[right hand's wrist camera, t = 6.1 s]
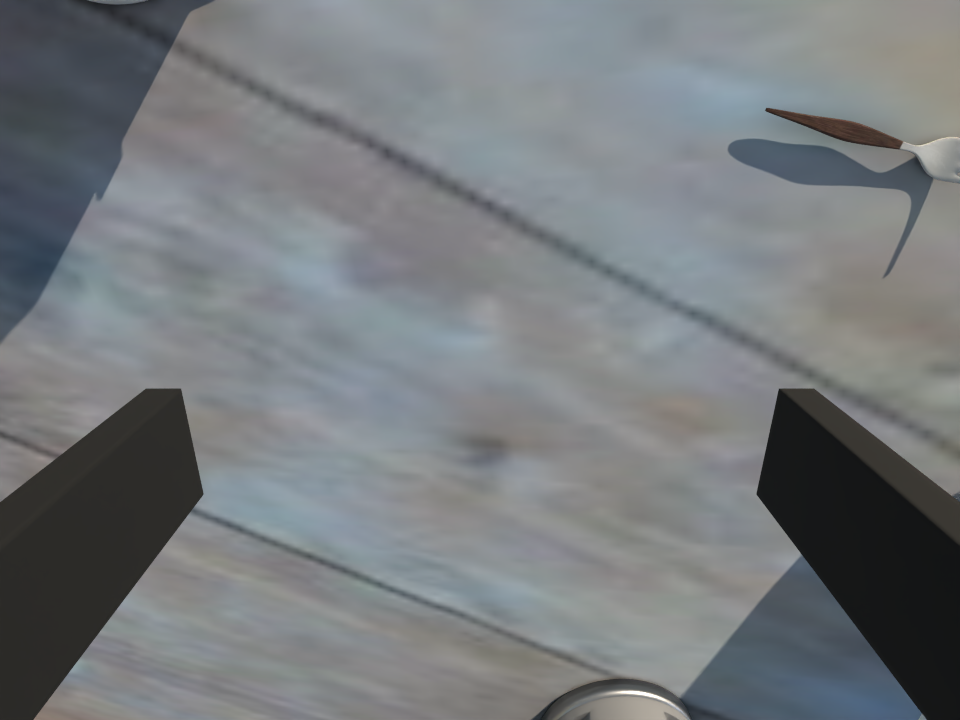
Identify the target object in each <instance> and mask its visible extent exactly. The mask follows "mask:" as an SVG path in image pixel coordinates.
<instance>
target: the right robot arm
mask: <svg viewBox="0 0 960 720" xmlns="http://www.w3.org/2000/svg"><path fill="white" fill-rule="evenodd" d="M202 496H203V490H202V485H201V480H200V475H199V471H198V466H197V461H196V457H195V452H194V447H193V443H192V438H191V433H190V429H189V424H188V419H187V415H186V410H185V405H184V401H183V396H182V391H181V389H145V390H144V391H142V392H141V393H140V394H139V395H137V396H136V397H135V398H133V399H132V400H131V401H130V402H128V403H127V404H126V405H125V406H123V407H122V408H121V409H119V410H118V411H117V412H116V413H114V414H113V415H112V416H110V417H109V418H108V419H107V420H105V421H104V422H103V423H101V424H100V425H99V426H98V427H96V428H95V429H94V430H92V431H91V432H90V433H89V434H87V435H86V436H85V437H83V438H82V439H81V440H80V441H78V442H77V443H76V444H74V445H73V446H72V447H71V448H69V449H68V450H67V451H66V452H64V453H63V454H62V455H60V456H59V457H58V458H57V459H55V460H54V461H53V462H51V463H50V464H49V465H48V466H46V467H45V468H44V469H42V470H41V471H40V472H39V473H37V474H36V475H35V476H33V477H32V478H31V479H30V480H28V481H27V482H26V483H24V484H23V485H22V486H21V487H19V488H18V489H17V490H15V491H14V492H13V493H12V494H10V495H9V496H8V497H7V498H5V499H4V500H3V501H1V502H0V720H33V719H34V718H35V717H36V715H37V714H38V713H39V711H40V710H41V709H42V707H43V706H44V705H45V703H46V702H47V701H48V699H49V698H50V697H51V695H52V694H53V693H54V692H55V690H56V689H57V688H58V686H59V685H60V684H61V682H62V681H63V680H64V678H65V677H66V676H67V674H68V673H69V672H70V670H71V669H72V668H73V666H74V665H75V664H76V662H77V661H78V660H79V658H80V657H81V656H82V654H83V653H84V652H85V650H86V649H87V648H88V647H89V645H90V644H91V643H92V641H93V640H94V639H95V637H96V636H97V635H98V633H99V632H100V631H101V629H102V628H103V627H104V625H105V624H106V623H107V621H108V620H109V619H110V617H111V616H112V615H113V613H114V612H115V611H116V609H117V608H118V607H119V605H120V604H121V603H122V602H123V600H124V599H125V598H126V596H127V595H128V594H129V592H130V591H131V590H132V588H133V587H134V586H135V584H136V583H137V582H138V580H139V579H140V578H141V576H142V575H143V574H144V572H145V571H146V570H147V568H148V567H149V566H150V564H151V563H152V562H153V560H154V559H155V558H156V557H157V555H158V554H159V553H160V551H161V550H162V549H163V547H164V546H165V545H166V543H167V542H168V541H169V539H170V538H171V537H172V535H173V534H174V533H175V531H176V530H177V529H178V527H179V526H180V525H181V523H182V522H183V521H184V519H185V518H186V517H187V515H188V514H189V513H190V512H191V510H192V509H193V508H194V506H195V505H196V504H197V502H198V501H199V500H200V498H201V497H202ZM757 496H758V497H759V498H760V500H761V501H762V502H763V504H764V505H765V506H766V508H767V509H768V510H769V512H770V513H771V514H772V515H773V517H774V518H775V519H776V521H777V522H778V523H779V525H780V526H781V527H782V529H783V530H784V531H785V533H786V534H787V535H788V537H789V538H790V539H791V541H792V542H793V543H794V545H795V546H796V547H797V549H798V550H799V551H800V553H801V554H802V555H803V557H804V558H805V559H806V560H807V562H808V563H809V564H810V566H811V567H812V568H813V570H814V571H815V572H816V574H817V575H818V576H819V578H820V579H821V580H822V582H823V583H824V584H825V586H826V587H827V588H828V590H829V591H830V592H831V594H832V595H833V596H834V598H835V599H836V600H837V602H838V603H839V604H840V605H841V607H842V608H843V609H844V611H845V612H846V613H847V615H848V616H849V617H850V619H851V620H852V621H853V623H854V624H855V625H856V627H857V628H858V629H859V631H860V632H861V633H862V635H863V636H864V637H865V639H866V640H867V641H868V643H869V644H870V645H871V647H872V648H873V649H874V650H875V652H876V653H877V654H878V656H879V657H880V658H881V660H882V661H883V662H884V664H885V665H886V666H887V668H888V669H889V670H890V672H891V673H892V674H893V676H894V677H895V678H896V680H897V681H898V682H899V684H900V685H901V686H902V688H903V689H904V690H905V692H906V693H907V694H908V695H909V697H910V698H911V699H912V701H913V702H914V703H915V705H916V706H917V707H918V709H919V710H920V711H921V713H922V714H923V715H924V717H925V718H926V719H927V720H960V502H959V501H957V500H956V499H955V498H953V497H952V496H951V495H950V494H948V493H947V492H946V491H945V490H943V489H942V488H941V487H939V486H938V485H937V484H936V483H934V482H933V481H932V480H930V479H929V478H928V477H927V476H925V475H924V474H923V473H921V472H920V471H919V470H918V469H916V468H915V467H914V466H912V465H911V464H910V463H909V462H907V461H906V460H905V459H903V458H902V457H901V456H900V455H898V454H897V453H896V452H894V451H893V450H892V449H891V448H889V447H888V446H887V445H886V444H884V443H883V442H882V441H880V440H879V439H878V438H877V437H875V436H874V435H873V434H871V433H870V432H869V431H868V430H866V429H865V428H864V427H862V426H861V425H860V424H859V423H857V422H856V421H855V420H853V419H852V418H851V417H850V416H848V415H847V414H846V413H844V412H843V411H842V410H841V409H839V408H838V407H837V406H835V405H834V404H833V403H832V402H830V401H829V400H828V399H827V398H825V397H824V396H823V395H821V394H820V393H819V392H818V391H816V390H815V389H779V391H778V396H777V401H776V405H775V410H774V415H773V419H772V424H771V429H770V433H769V438H768V443H767V447H766V452H765V457H764V461H763V466H762V471H761V475H760V480H759V485H758V490H757ZM542 720H692V719H691V717H690V714H689V712H688V710H687V708H686V707H685V705H684V704H683V703H682V701H681V700H680V699H679V698H678V697H676V696H675V695H674V694H673V693H671V692H670V691H668V690H666V689H664V688H662V687H660V686H658V685H655V684H652V683H648V682H645V681H639V680H631V679H612V680H603V681H598V682H594V683H590V684H587V685H584V686H581V687H579V688H576V689H574V690H572V691H570V692H568V693H567V694H565V695H564V696H562V697H561V698H559V699H558V700H557V701H556V702H555V703H553V704H552V705H551V707H550V708H549V709H548V710H547V711H546V713H545V714H544V716H543V718H542Z"/></svg>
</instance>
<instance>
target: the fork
mask: <svg viewBox="0 0 960 720" xmlns="http://www.w3.org/2000/svg"><path fill="white" fill-rule="evenodd" d="M765 111H767V112H769V113H772V114H774V115H777V116H780V117H782V118H785V119H788V120H790V121H793V122H796V123H799V124H801V125H804V126H806V127H809V128H811V129H814V130H816V131H819V132H821V133H824V134H826V135H828V136H831V137H834V138H836V139H839V140H843V141H847V142H851V143H857V144H863V145H870V146H878V147H885V148H893V149H899V150H905V151H909V152H912V153H913V154H915V156H916V157H917V158H918V160H919V162H920V164H921V166H922V168H923V169H924V171H925V172H926V173H927V174H928V175H929V176H931V177H932V178H934V179H937V180H941V181H947V182H954V183H960V176H958V175H957V174H958V173H959V172H960V138H958V137H946V138H941V139H938V140H935V141H932V142H930V143H927V144H924V145H919V146H915V145H911V144H908V143H905V142H903V141H901V140H898V139H896V138H894V137H891V136H889V135H887V134H884V133H882V132H880V131H877V130H875V129H873V128H870V127H868V126H865V125H862V124H859V123H855V122H851V121H846V120H840V119H833V118H826V117H819V116H812V115H806V114H800V113H794V112H788V111H783V110H777V109H771V108H766V110H765Z"/></svg>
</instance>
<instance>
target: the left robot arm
mask: <svg viewBox="0 0 960 720" xmlns="http://www.w3.org/2000/svg"><path fill="white" fill-rule="evenodd" d="M88 1H92V2H97V3H103V4H115V5H121V4H133V3H139V2H143V1H147V0H88Z"/></svg>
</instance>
